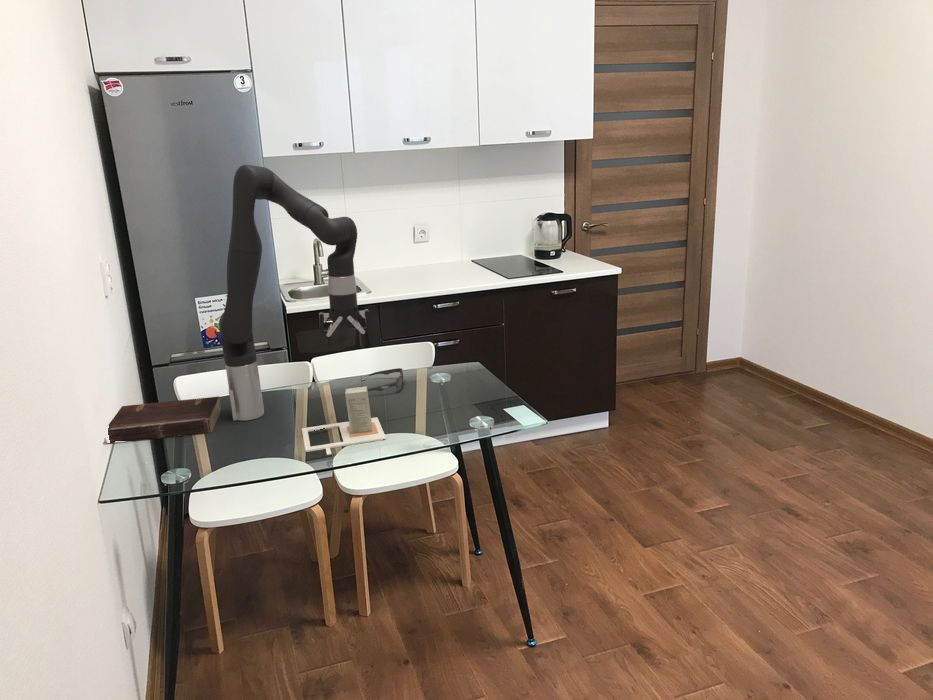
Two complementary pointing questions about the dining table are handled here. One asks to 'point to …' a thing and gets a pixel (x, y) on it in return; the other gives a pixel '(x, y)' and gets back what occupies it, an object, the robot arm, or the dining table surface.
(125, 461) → the dining table surface
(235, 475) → the dining table surface
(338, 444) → the window card
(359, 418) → the skincare box
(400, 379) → the sunglasses
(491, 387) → the dining table surface
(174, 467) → the dining table surface
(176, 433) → the hardback book
